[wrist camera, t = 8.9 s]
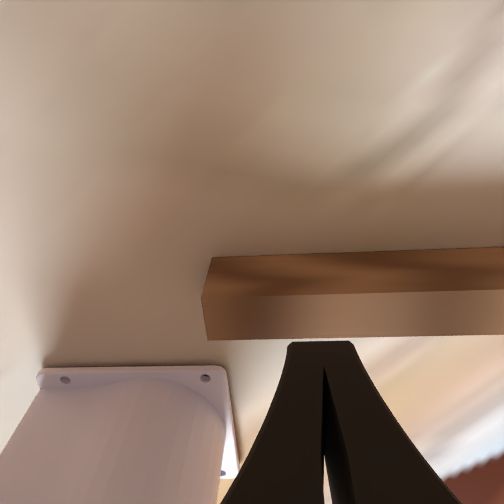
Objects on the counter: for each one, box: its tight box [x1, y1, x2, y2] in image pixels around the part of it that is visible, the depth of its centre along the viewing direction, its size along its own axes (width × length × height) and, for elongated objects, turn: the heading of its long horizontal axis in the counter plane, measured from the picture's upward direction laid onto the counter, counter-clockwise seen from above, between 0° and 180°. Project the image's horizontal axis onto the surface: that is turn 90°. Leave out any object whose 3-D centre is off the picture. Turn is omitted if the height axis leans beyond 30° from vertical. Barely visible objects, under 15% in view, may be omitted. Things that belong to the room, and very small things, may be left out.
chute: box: [201, 247, 504, 340], centre depth 15 cm, size 17×17×4 cm
